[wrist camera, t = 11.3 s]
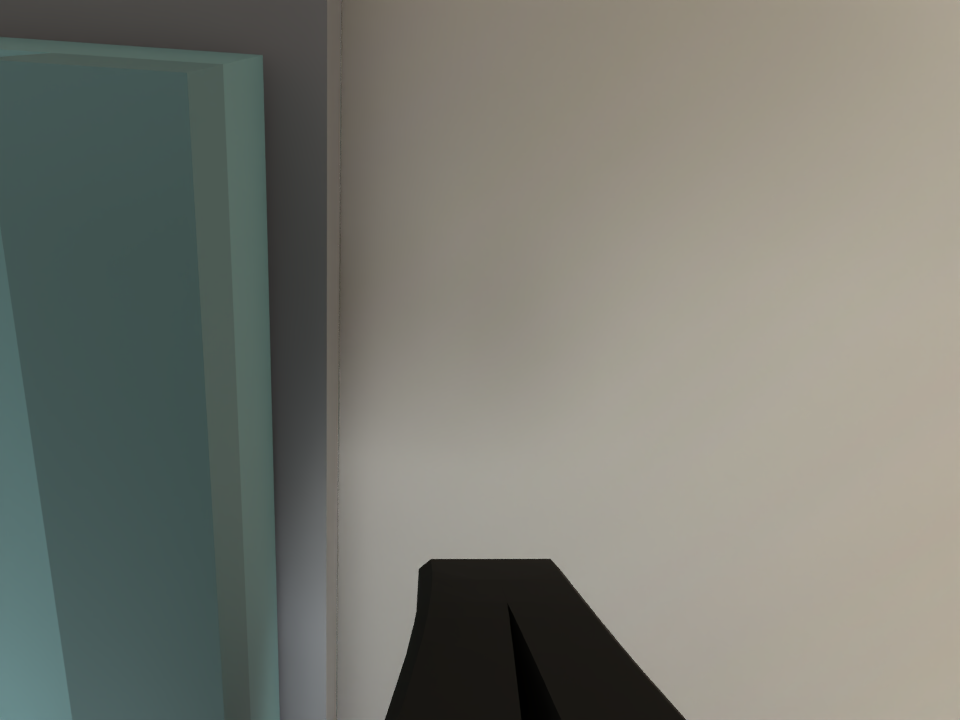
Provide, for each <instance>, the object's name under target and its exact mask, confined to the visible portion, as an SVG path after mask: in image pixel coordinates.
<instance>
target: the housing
mask: <svg viewBox="0 0 960 720" xmlns="http://www.w3.org/2000/svg"><path fill="white" fill-rule="evenodd" d="M341 30H342V0H0V37H9V38H24V39H38V40H53V41H67V42H81V43H96V44H110V45H125V46H139V47H154V48H168V49H182V50H197V51H211V52H226V53H240V54H255V55H263V83H264V122H265V161H266V200H267V239H268V278H269V317H270V356H271V395H272V434H273V473H274V512H275V551H276V590H277V629H278V668H279V707H280V720H337V582H338V444H339V306H340V168H341Z"/></svg>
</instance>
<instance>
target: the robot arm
mask: <svg viewBox="0 0 960 720" xmlns="http://www.w3.org/2000/svg"><path fill="white" fill-rule="evenodd" d="M385 720H686V719H685V718H684V717H683V716H682V715H681V713H680V712H679V711H678V710H677V709H676V708H675V707H674V706H673V704H672V703H671V702H670V701H669V700H668V699H667V698H666V697H665V695H664V694H663V693H662V692H661V691H660V690H659V689H658V688H657V687H656V685H655V684H654V683H653V682H652V681H651V680H650V679H649V678H648V676H647V675H646V674H645V673H644V672H643V671H642V670H641V668H640V667H639V666H638V665H637V664H636V663H635V661H634V660H633V659H632V658H631V657H630V655H629V654H628V653H627V652H626V651H625V650H624V648H623V647H622V646H621V645H620V644H619V642H618V641H617V640H616V639H615V637H614V636H613V635H612V634H611V633H610V631H609V630H608V629H607V628H606V627H605V625H604V624H603V623H602V622H601V620H600V619H599V618H598V617H597V615H596V614H595V613H594V612H593V610H592V609H591V608H590V607H589V605H588V604H587V603H586V602H585V600H584V599H583V598H582V597H581V595H580V594H579V593H578V592H577V590H576V589H575V588H574V587H573V585H572V584H571V583H570V582H569V580H568V579H567V578H566V576H565V575H564V574H563V573H562V571H561V570H560V569H559V568H558V567H557V566H556V565H555V564H554V562H553V561H552V560H551V559H431V560H429V561H428V562H427V563H426V564H424V565H423V566H422V567H421V568H420V569H419V576H418V594H417V612H416V617H415V622H414V626H413V630H412V634H411V638H410V642H409V646H408V650H407V654H406V657H405V660H404V663H403V666H402V669H401V672H400V675H399V678H398V682H397V685H396V688H395V691H394V694H393V697H392V700H391V703H390V706H389V709H388V712H387V715H386V718H385Z"/></svg>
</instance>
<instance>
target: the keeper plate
mask: <svg viewBox="0 0 960 720" xmlns="http://www.w3.org/2000/svg"><path fill="white" fill-rule="evenodd" d="M0 720H280V707H279V668H278V629H277V590H276V551H275V512H274V473H273V434H272V395H271V356H270V317H269V278H268V239H267V200H266V161H265V122H264V83H263V55H255V54H240V53H226V52H211V51H197V50H182V49H168V48H154V47H139V46H125V45H110V44H96V43H81V42H67V41H53V40H38V39H24V38H9V37H0Z"/></svg>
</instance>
